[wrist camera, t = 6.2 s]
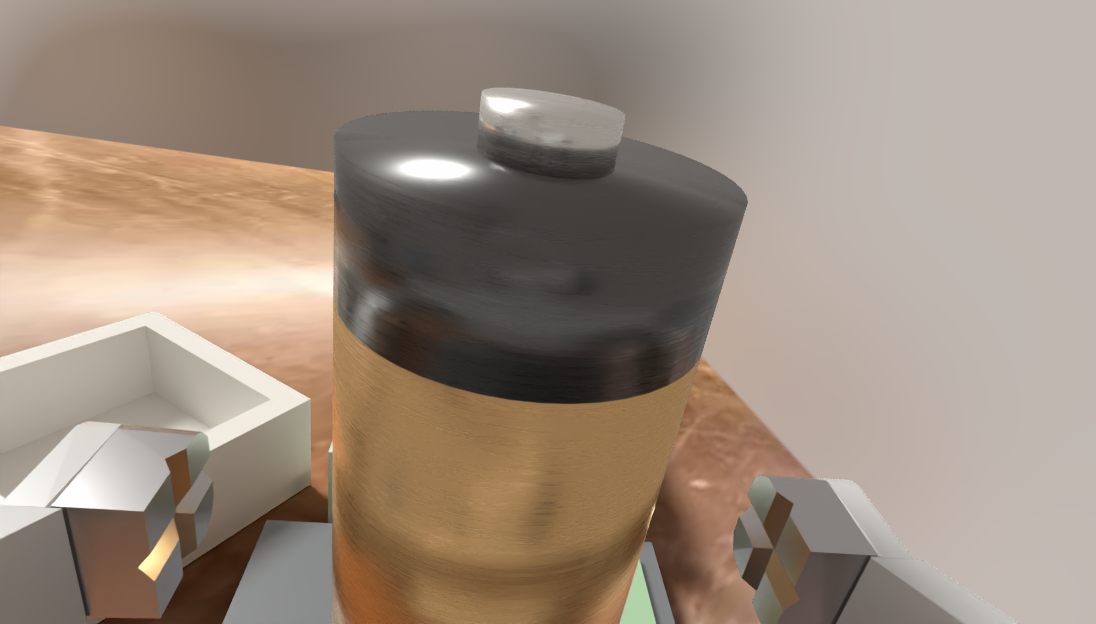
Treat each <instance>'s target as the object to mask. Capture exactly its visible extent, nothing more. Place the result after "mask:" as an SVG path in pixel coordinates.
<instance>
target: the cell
mask: <svg viewBox="0 0 1096 624" xmlns="http://www.w3.org/2000/svg"><path fill="white" fill-rule="evenodd" d="M624 121H625V114H624V113H623V112H622V111H620V110H618V109H616V108H613V107H610V106H608V105H604V104H601V103H598V102H594V101H591V100H587V99H582V98H578V97H573V96H568V95H563V94H557V93H551V92H545V91H537V90H529V89H518V88H490V89H485V90H483V91H482V94H481V104H480V113H475V112H474V113H473V112H458V111H405V112H392V113H383V114H377V115H371V116H366V117H363V118H359V119H355V120H353V121H350V122H348V123H346V124H344V125H343V126H342V127H340V128H339V129H338V130H337V132H336V134H335V136H334V140H335V141H334V288H333V455H332V623H331V624H619V623H620V620H621V617H622V613H623V610H624V607H625V603H626V600H627V597H628V594H629V590H630V587H631V584H632V580H633V577H634V574H635V571H636V567H637V564H638V561H639V557H640V554H641V551H642V548H643V544H644V541H645V538H646V535H647V531H648V528H649V525H650V521H651V518H652V515H653V512H654V508H655V505H656V502H657V498H658V495H659V492H660V489H661V485H662V482H663V479H664V475H665V472H666V469H667V466H668V462H669V459H670V456H671V453H672V449H673V446H674V443H675V439H676V436H677V433H678V430H679V426H680V423H681V420H682V416H683V413H684V410H685V407H686V403H687V400H688V397H689V394H690V390H691V387H692V384H693V380H694V377H695V374H696V371H697V367H698V364H699V361H700V357H701V354H702V351H703V348H704V344H705V341H706V338H707V334H708V331H709V328H710V325H711V321H712V318H713V315H714V311H715V308H716V305H717V302H718V298H719V295H720V292H721V289H722V285H723V282H724V279H725V275H726V272H727V269H728V266H729V262H730V259H731V256H732V252H733V249H734V246H735V242H736V239H737V236H738V233H739V230H740V226H741V223H742V220H743V216H744V213H745V210H746V207H747V203H748V201H747V197H746V195H745V193H744V192H743V190H742V189H741V188H740V187H739V186H738V185H737V184H736V183H735V182H733V181H732V180H730V179H729V178H728V177H726V176H725V175H723V174H721V173H719V172H718V171H716V170H714V169H712V168H710V167H708V166H705V165H704V164H702V163H699V162H697V161H695V160H692V159H690V158H687V157H685V156H683V155H680V154H677V153H674V152H671V151H668V150H666V149H662V148H660V147H656V146H653V145H650V144H647V143H644V142H640V141H637V140H633V139H629V138H626V137H622V131H623V126H624Z"/></svg>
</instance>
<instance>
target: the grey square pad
mask: <svg viewBox="0 0 1096 624" xmlns="http://www.w3.org/2000/svg"><path fill="white" fill-rule="evenodd" d="M331 623H332V523H316V522H299V521H282V520H266V523H265V525H264V527H263V530H262V532H261V534H260V537H259V539H258V541H257V544H256V546H255V548H254V551H253V553H252V555H251V558H250V560H249V562H248V565H247V567H246V569H245V572H244V574H243V576H242V579H241V581H240V583H239V586H238V588H237V590H236V593H235V595H234V597H233V600H232V602H231V604H230V607H229V609H228V611H227V614H226V616H225V618H224V621H223V623H222V624H331ZM619 624H675V621H674V618H673V614H672V611H671V608H670V604H669V601H668V597H667V594H666V590H665V587H664V583H663V580H662V576H661V573H660V569H659V566H658V562H657V559H656V555H655V552H654V549H653V545H652V542H644V544H643V548H642V551H641V554H640V557H639V561H638V564H637V567H636V571H635V574H634V577H633V580H632V584H631V587H630V590H629V594H628V597H627V600H626V603H625V607H624V610H623V613H622V617H621V620H620V623H619Z"/></svg>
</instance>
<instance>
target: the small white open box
mask: <svg viewBox="0 0 1096 624" xmlns="http://www.w3.org/2000/svg"><path fill="white" fill-rule="evenodd" d="M87 421H92V422H103V423H113V424H122V425H127V424H129V425H139V426H149V427H159V428H169V429H180V430H190V431H200V432H203V433H204V434H205V435H207V436H208V441H209V449H210V457H209V459H208V461H207V462H206V464H205V466H204V467H203V469H202V470H203V471H204V472H205V473H206V474H207V475H208V476H209V477H210V478H211V479H212V480H213V491H214V497H213V508H212V514H211V517H210V520H209V524H208V527H207V531H206V533H205V535H204V537H203V539H202V541H201V543H200V545H199V547H198V549H196V550H195V551H193V552H192V553H190V554H189V555H187V556H186V557H184V558H183V559H182V568H183V567H185V566H186V565H188V564H189V563H191V562H192V561H194V560H195V559H197V558H199V557H200V556H202V555H203V554H205V553H206V552H208V551H209V550H211V549H212V548H214V547H215V546H217V545H218V544H220V543H221V542H223V541H225V540H226V539H228V538H229V537H231V536H232V535H234V534H235V533H237V532H238V531H240V530H241V529H243V528H244V527H246V526H248V525H249V524H251V523H252V522H254V521H255V520H257V519H258V518H260V517H261V516H263V515H264V514H266V513H267V512H269V511H270V510H272V509H274V508H275V507H277V506H278V505H280V504H281V503H283V502H284V501H286V500H287V499H289V498H290V497H292V496H293V495H295V494H297V493H298V492H300V491H301V490H303V489H304V488H306V487H307V486H309V485H310V484H311V422H310V399H309V398H308V397H306V396H304V395H302V394H301V393H299V392H297V391H295V390H294V389H292V388H290V387H288V386H287V385H285V384H283V383H281V382H279V381H278V380H276V379H274V378H272V377H271V376H269V375H267V374H265V373H264V372H262V371H260V370H258V369H257V368H255V367H253V366H251V365H249V364H248V363H246V362H244V361H242V360H241V359H239V358H237V357H235V356H234V355H232V354H230V353H228V352H227V351H225V350H223V349H221V348H219V347H218V346H216V345H214V344H212V343H211V342H209V341H207V340H205V339H204V338H202V337H200V336H198V335H197V334H195V333H193V332H191V331H189V330H188V329H186V328H184V327H182V326H181V325H179V324H177V323H175V322H174V321H172V320H170V319H168V318H167V317H165V316H163V315H161V314H159V313H158V312H156V311H152V312H149V313H145V314H142V315H139V316H135V317H132V318H129V319H126V320H122V321H119V322H116V323H112V324H109V325H106V326H103V327H99V328H96V329H93V330H89V331H86V332H83V333H80V334H76V335H73V336H70V337H66V338H63V339H60V340H56V341H53V342H50V343H47V344H43V345H40V346H37V347H33V348H30V349H27V350H24V351H20V352H17V353H14V354H10V355H7V356H4V357H1V358H0V503H1V502H2V501H3V500H4V499H5V498H6V497H7V496H8V495H9V494H10V493H11V492H12V491H13V490H14V489H15V488H16V487H17V486H18V485H19V484H20V483H21V482H22V481H23V480H24V479H25V478H26V477H27V476H28V475H29V473H30V472H31V471H32V470H33V469H34V468H35V467H36V466H37V465H38V464H39V463H40V462H41V461H42V460H43V459H44V458H45V457H46V456H47V455H48V454H49V453H50V452H51V451H52V450H53V449H54V448H55V447H56V446H57V445H58V444H59V443H60V442H61V441H62V440H63V438H64V437H65V436H66V435H67V434H68V433H69V432H70V431H71V430H72V429H73V428H74V427H75V426H77V425H79V424H81V423H84V422H87ZM104 619H105V618H87V622H86V623H85V624H97V623H99V622H101V621H102V620H104Z"/></svg>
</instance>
